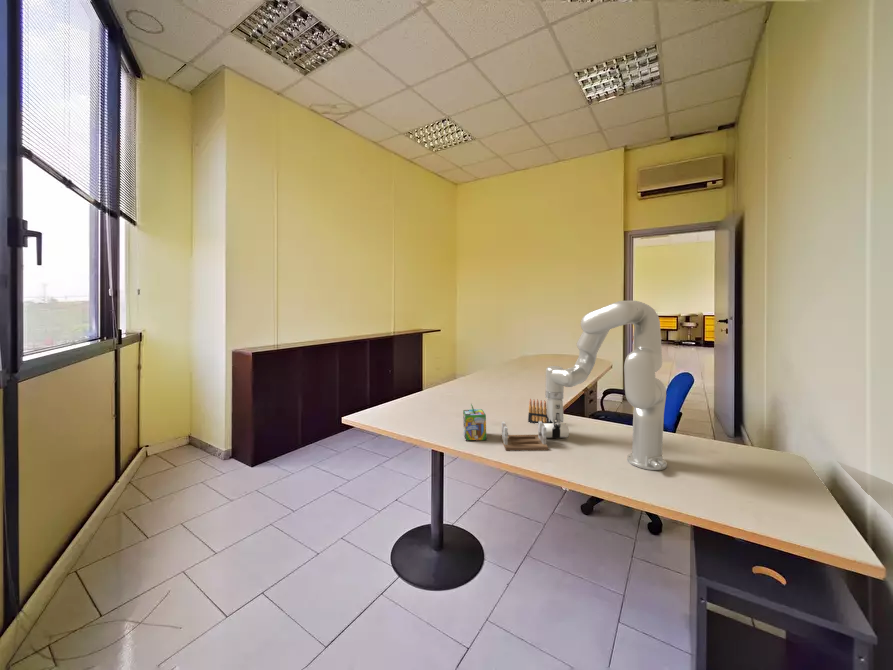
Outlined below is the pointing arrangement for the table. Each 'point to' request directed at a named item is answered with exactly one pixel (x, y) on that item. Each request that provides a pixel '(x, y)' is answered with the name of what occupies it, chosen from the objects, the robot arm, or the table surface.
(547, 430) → the roll
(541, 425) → the holder
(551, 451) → the table surface
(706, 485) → the table surface
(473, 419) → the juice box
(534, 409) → the ammunition clip
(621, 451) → the table surface
